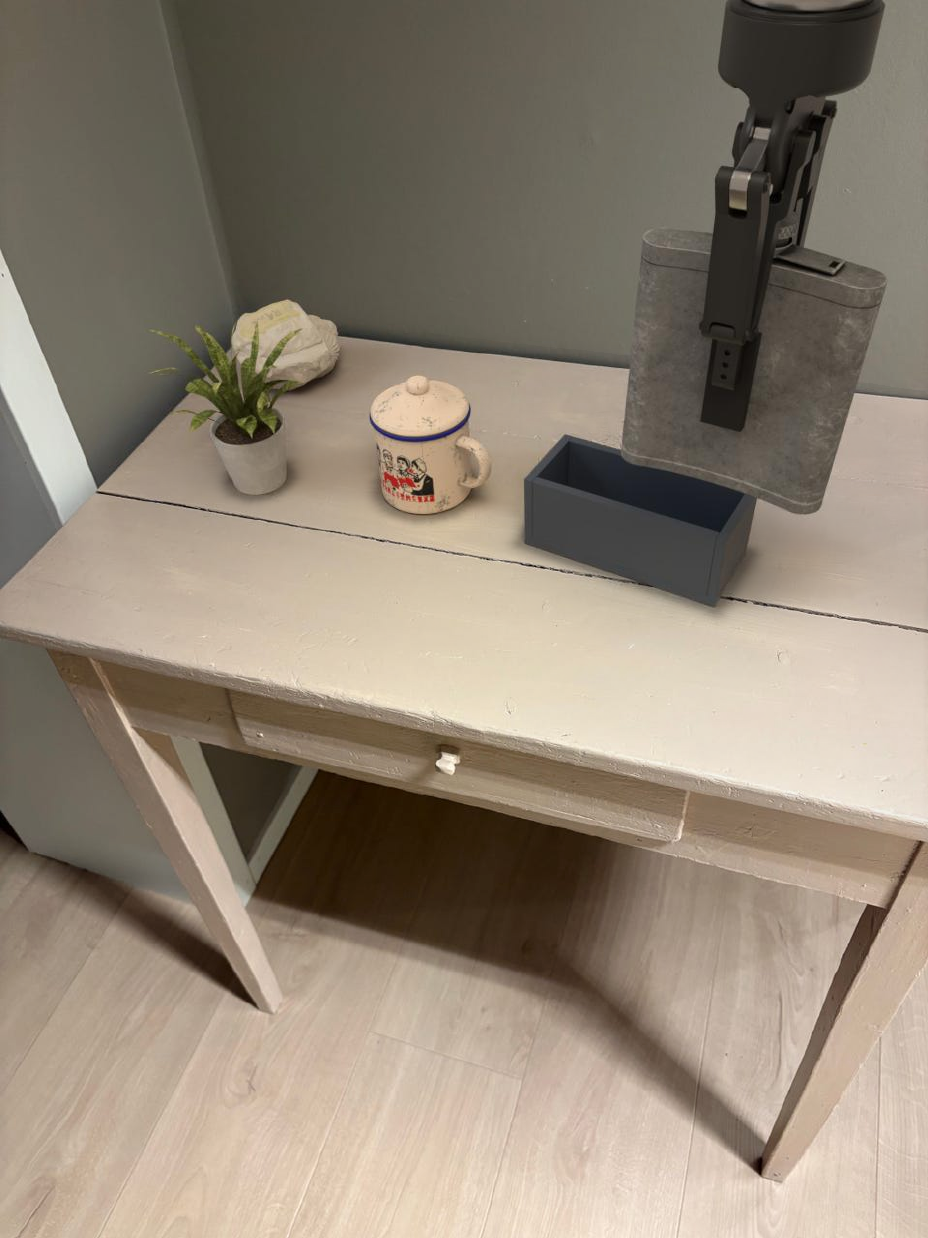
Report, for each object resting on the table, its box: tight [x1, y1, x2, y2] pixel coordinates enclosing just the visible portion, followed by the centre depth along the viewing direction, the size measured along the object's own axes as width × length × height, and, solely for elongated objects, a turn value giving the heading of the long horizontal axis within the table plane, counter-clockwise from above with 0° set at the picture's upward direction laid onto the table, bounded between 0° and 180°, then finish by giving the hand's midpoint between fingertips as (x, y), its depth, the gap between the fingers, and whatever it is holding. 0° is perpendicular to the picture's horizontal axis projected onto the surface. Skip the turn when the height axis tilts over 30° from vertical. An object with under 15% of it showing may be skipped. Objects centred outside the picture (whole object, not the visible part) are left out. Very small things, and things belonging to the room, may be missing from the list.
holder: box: [523, 433, 758, 608], centre depth 81 cm, size 18×8×7 cm, turn 59°
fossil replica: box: [232, 299, 341, 391], centre depth 105 cm, size 12×8×10 cm
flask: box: [620, 211, 888, 516], centre depth 61 cm, size 4×14×18 cm, turn 59°
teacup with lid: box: [369, 375, 492, 515], centre depth 87 cm, size 12×9×12 cm
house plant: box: [148, 320, 304, 496], centre depth 88 cm, size 14×14×16 cm
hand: (733, 407), depth 63 cm, fingers closed on flask, 3 cm apart
